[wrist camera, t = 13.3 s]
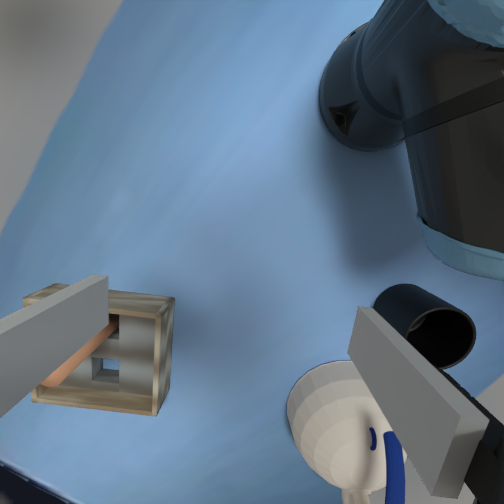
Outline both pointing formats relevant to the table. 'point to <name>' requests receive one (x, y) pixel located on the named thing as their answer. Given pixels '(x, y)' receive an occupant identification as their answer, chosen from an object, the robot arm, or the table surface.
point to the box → (120, 358)
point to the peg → (82, 353)
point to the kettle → (346, 434)
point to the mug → (428, 324)
